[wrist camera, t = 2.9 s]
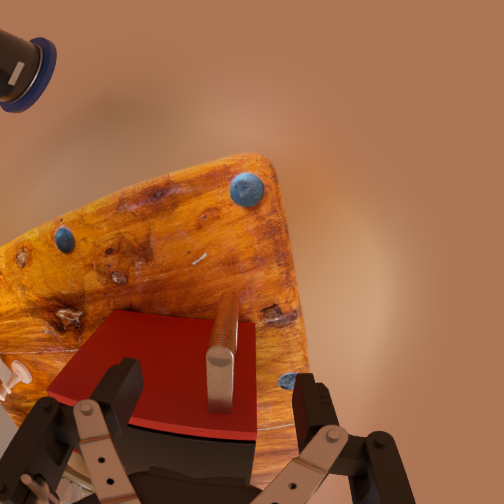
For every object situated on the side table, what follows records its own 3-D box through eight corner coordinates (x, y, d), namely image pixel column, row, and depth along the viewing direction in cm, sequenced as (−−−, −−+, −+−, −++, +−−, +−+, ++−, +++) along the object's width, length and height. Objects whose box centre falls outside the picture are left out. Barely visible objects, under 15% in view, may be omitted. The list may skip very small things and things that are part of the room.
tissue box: (119, 463, 39) (97, 521, 24) (121, 479, 42) (104, 530, 26) (43, 426, 38) (13, 473, 23) (52, 447, 40) (27, 490, 25)
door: (109, 260, 28) (21, 325, 13) (259, 271, 28) (265, 366, 14) (116, 316, 29) (49, 398, 15) (254, 330, 30) (256, 440, 15)
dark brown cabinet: (116, 317, 30) (50, 401, 15) (254, 331, 30) (255, 444, 15) (130, 386, 32) (90, 470, 18) (248, 401, 33) (247, 500, 18)
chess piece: (13, 354, 32) (-18, 385, 23) (32, 371, 33) (3, 405, 23) (13, 370, 33) (-15, 400, 24) (32, 386, 34) (5, 419, 25)
